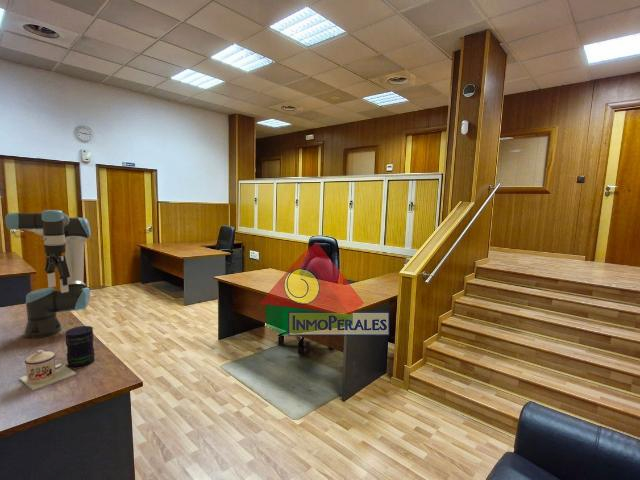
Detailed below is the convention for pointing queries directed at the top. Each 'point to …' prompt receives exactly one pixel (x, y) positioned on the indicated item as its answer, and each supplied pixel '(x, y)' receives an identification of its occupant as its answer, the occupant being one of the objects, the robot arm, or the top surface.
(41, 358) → the teacup with lid
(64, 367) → the coaster
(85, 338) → the dark blue canister
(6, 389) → the top surface
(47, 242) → the robot arm
